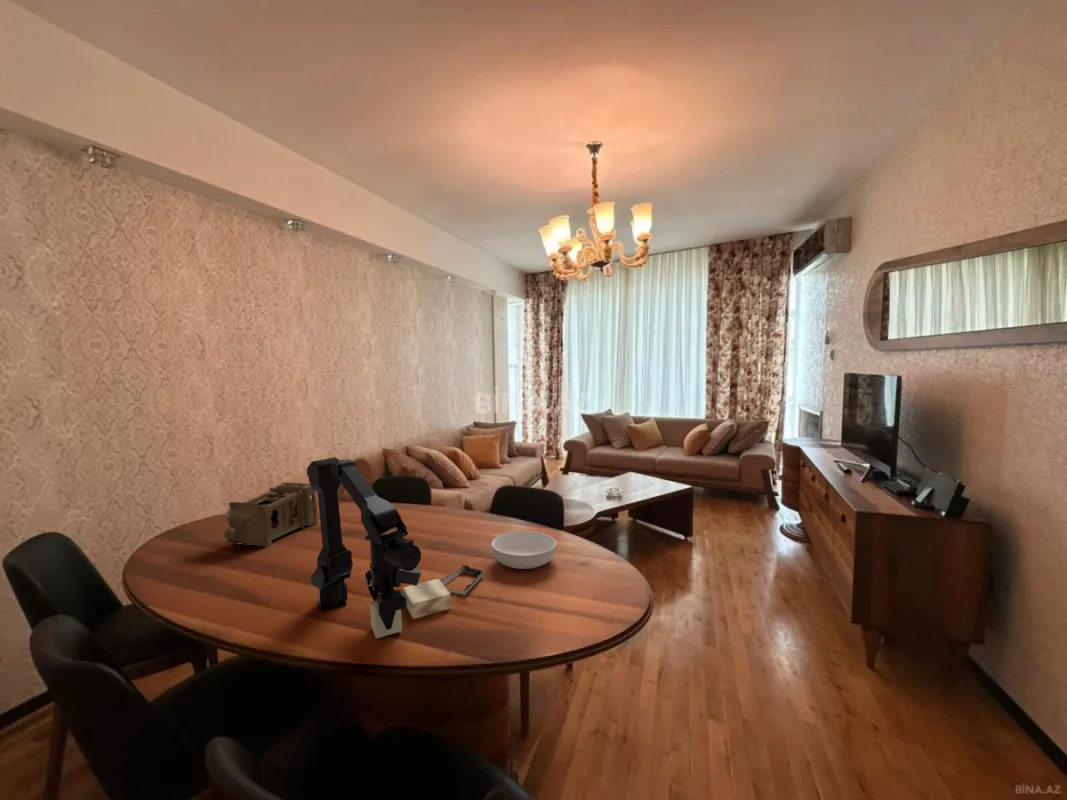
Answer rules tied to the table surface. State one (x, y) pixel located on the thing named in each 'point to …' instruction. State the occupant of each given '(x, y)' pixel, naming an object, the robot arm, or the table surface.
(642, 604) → the table surface
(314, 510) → the toy tower
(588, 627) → the table surface
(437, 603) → the beige square block
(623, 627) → the table surface
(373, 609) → the green cube
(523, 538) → the serving bowl
